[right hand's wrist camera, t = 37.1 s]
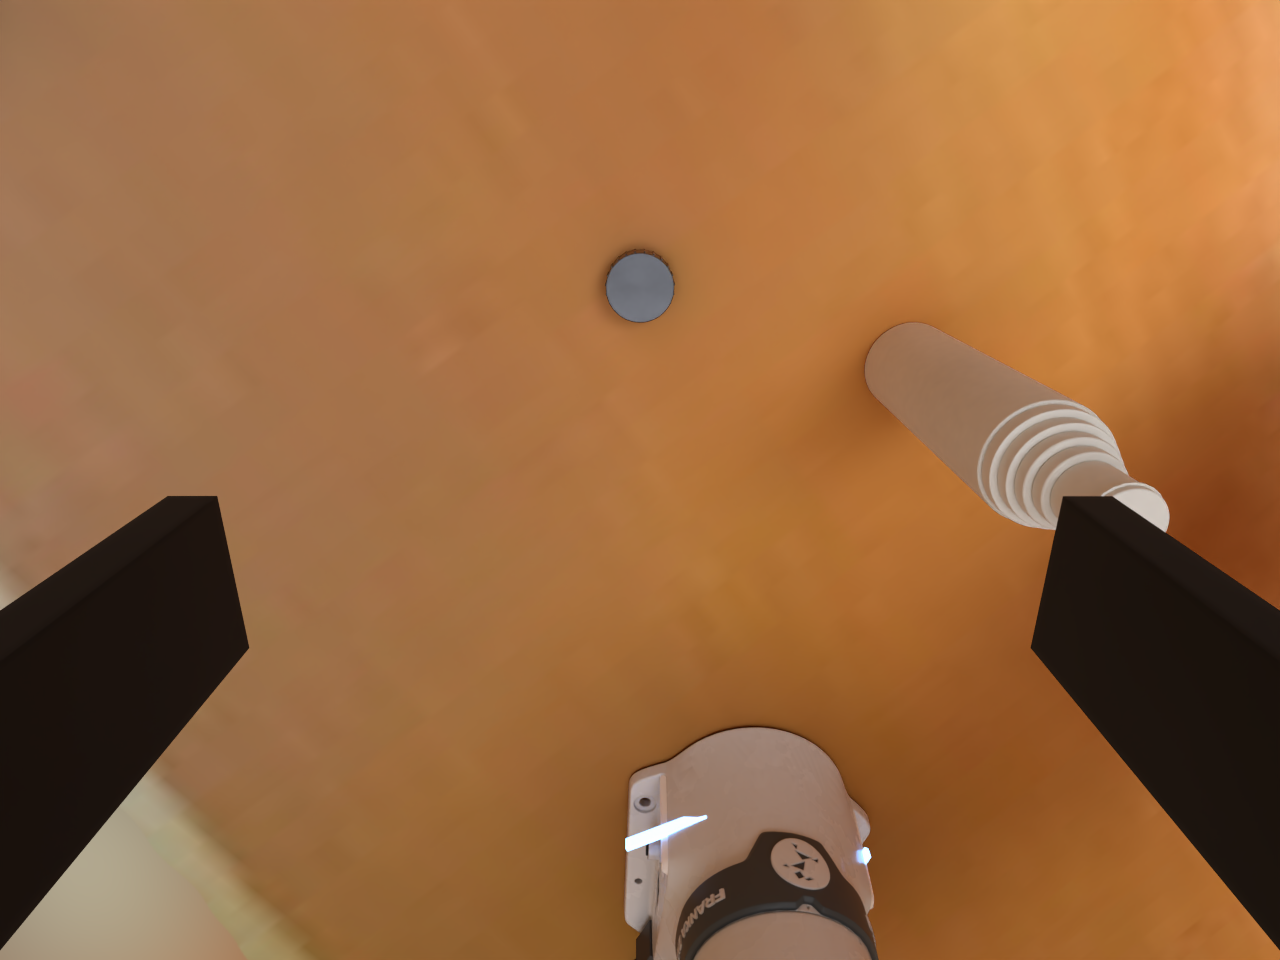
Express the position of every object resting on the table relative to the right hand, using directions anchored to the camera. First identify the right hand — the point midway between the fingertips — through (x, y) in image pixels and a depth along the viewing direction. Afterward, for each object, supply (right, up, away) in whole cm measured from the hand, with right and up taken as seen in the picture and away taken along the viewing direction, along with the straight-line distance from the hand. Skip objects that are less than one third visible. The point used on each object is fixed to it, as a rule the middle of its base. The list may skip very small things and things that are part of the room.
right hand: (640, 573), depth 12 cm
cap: (0, +12, +32) cm, 34 cm away
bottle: (+16, +8, +35) cm, 40 cm away
